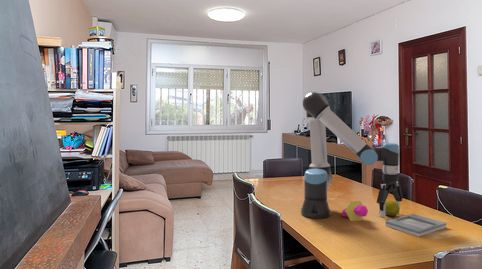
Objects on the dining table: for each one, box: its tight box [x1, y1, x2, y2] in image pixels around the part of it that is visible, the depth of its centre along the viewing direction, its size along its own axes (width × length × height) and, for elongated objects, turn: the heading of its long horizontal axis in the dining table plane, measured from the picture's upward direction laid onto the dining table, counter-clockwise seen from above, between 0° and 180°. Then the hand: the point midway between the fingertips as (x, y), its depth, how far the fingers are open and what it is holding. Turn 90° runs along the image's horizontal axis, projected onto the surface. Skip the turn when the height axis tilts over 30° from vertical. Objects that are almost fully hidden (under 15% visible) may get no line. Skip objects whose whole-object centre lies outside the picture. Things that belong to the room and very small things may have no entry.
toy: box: [341, 200, 369, 222], centre depth 160 cm, size 10×18×10 cm, turn 14°
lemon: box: [378, 199, 401, 217], centre depth 166 cm, size 11×8×8 cm
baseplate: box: [384, 213, 447, 237], centre depth 149 cm, size 22×16×2 cm
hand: (389, 214), depth 166 cm, fingers open, 11 cm apart
